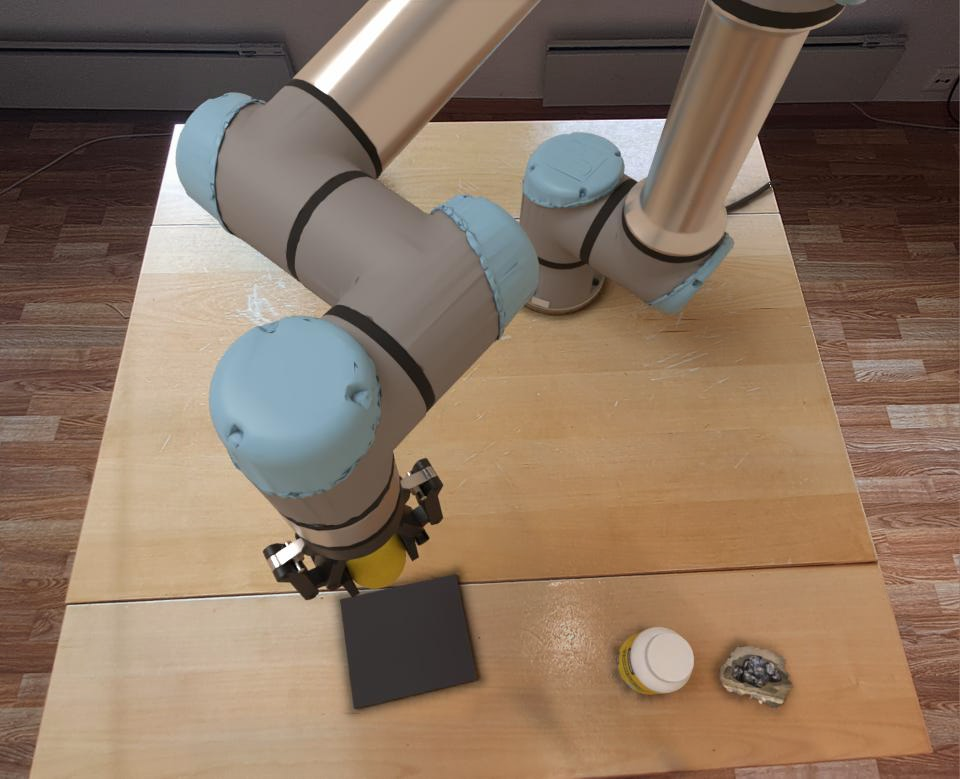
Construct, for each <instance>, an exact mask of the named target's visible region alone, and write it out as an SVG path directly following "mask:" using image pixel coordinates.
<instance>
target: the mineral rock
mask: <svg viewBox="0 0 960 779" xmlns="http://www.w3.org/2000/svg"><path fill="white" fill-rule="evenodd" d="M729 656H730V657H729V658H726V661H725V662H724V663H723V664H722V665H721V666H720V667H719V672H718V676H719V680H720V681H721V685H722V687H723V688H725V689H726V691H727V692H729V693H732V692H733V693H734V694H735V693H736V694H738V695H739V696H743V695H750V697H749V698H748V700H751V699H753V698H754V699H756V700H758V703H759V704H760V705H763V703H765V704H767V706H770V708H776V709H778V707H780V706H781V705H783V704H784V702H785V700H787V695H789V692H788V691H791V690H792V688H794V687H793V685H792V684H793V683H792V681H791V680H789V678H790V677H791V675H790V673H789V671H787V670H786V669H785V666H786V664H787V662H786V661H787V659H786V658H783V657H784V656H783V655H778V654H777V653H775V652H773V651H771V650H770V649H769V650H768V649H766V648H764V649H760V647H759V646H758V647H754V646H752V645H746V646H737V647H736V648H734V651H730V655H729Z"/></svg>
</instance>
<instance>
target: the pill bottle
mask: <svg viewBox="0 0 960 779" xmlns="http://www.w3.org/2000/svg"><path fill="white" fill-rule="evenodd" d="M694 666H695V656H694V650H693V649H692V647H691V645H690V643H689V642H688V641H687V640H686V639H685V638H684V637H682V636H681V635H680V634H679V633H678V632H677V631H675V630H673V629H671V628H669V627H664V626H652V627H649V628H646V629H644V630H642V631H640V632H638V633H635V634H633V635H630V636H629V637H628V638H626V639H625V640H624V641H623V642H622V643H621V644H620V647H618V650H617V654H616V669H617V673H618V675H619V678H620V679H621V681H622V682H623V683H624V685H625V686H627V688H629V689H630V690H632V691H633V692H635V693H638V694H641V695H646V696H647V695H649V696H650V695H659V694H661V695H662V694H670V693H675V692H677V691H678V690H680V689H681V688H683V687H684V686H685V685H686V684H687V683H688V682H689V679H690V677H691V675H692V672H693V669H694Z"/></svg>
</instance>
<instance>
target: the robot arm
mask: <svg viewBox="0 0 960 779" xmlns="http://www.w3.org/2000/svg"><path fill="white" fill-rule="evenodd" d="M541 1H542V0H367V2H366V3H365V4H364V5H363V6H362V7H360V9H359V10H358V11H357V12H356V13H355V14H354V15H353V16H352V17H351V18H350V19H349V20H348V21H347V22H346V23H345V24H344V25H343V26H342V27H341V28H340V29H339V30H338V31H337V32H336V33H335V34H334V35H333V37H331V38H330V39H329V40H328V41H327V42H326V44H324V46H322V47H321V49H319V51H317V53H316V54H315V55H314V56H313V57H311V59H310V60H308V62H307V63H306V64H304V66H303V67H302V68H301V69H300V70H299V71H298V72H297V73H296V74H295V75H294V76H293V77H292V78H291V79H290V80H289V81H288V82H287V83H286V84H285V85H284V86H283V87H282V88H281V89H280V90H278V92H277V93H276V94H274V96H273V97H272V98H271V99H270V100H269V101H268V102H266V101H265V100H262V99H259V98H256V97H252V96H250V95H248V94H246V93H241V92H227V93H223V95H221V96H219V97H216V98H208V99H207V100H205V101H204V102H202V104H200V105H199V106H198V107H197V108H196V109H194V111H193V112H192V113H191V114H190V115H189V117H188V118H187V119H186V122H185V124H184V125H183V127H182V129H181V132H180V133H179V136H178V139H177V143H176V149H175V157H174V158H175V168H176V174H177V177H178V179H179V182H180V184H181V186H182V187H183V189H184V191H185V194H186V195H187V196H188V197H189V198H190V199H191V200H192V201H194V202H195V203H196V204H197V205H198V206H199V207H201V209H203V210H204V211H205V212H206V213H207V214H208V215H210V216H211V217H213V218H214V219H215V220H216V221H217V222H218V223H219V225H220V227H221V228H222V229H223V230H224V231H225V232H226V233H228V234H229V235H232V236H234V237H236V238H238V239H239V240H241V241H243V242H244V243H245V244H247V245H248V246H250V247H251V248H253V249H254V250H255V251H257V252H258V253H259V254H261V255H262V256H264V257H265V258H266V259H268V260H269V261H270V262H272V263H273V264H274V265H276V266H277V267H279V268H280V269H281V270H283V271H284V272H285V273H286V274H288V275H289V276H291V277H292V278H293V279H295V280H296V281H297V282H298V283H300V284H301V285H302V286H303V287H304V288H306V289H307V290H308V291H310V292H311V293H312V294H314V295H315V296H316V297H317V298H319V299H321V300H322V301H323V302H325V303H326V304H327V305H328V306H330V307H331V308H329V309H328V310H327V311H326V312H325V313H323V315H322V316H321V317H315V316H309V315H308V316H306V315H290V316H283V317H281V318H280V319H279V320H274V321H272V322H268V323H265V324H263V325H259V326H254V327H253V328H250V329H249V330H247V331H246V332H244V333H242V335H240V336H239V337H238V338H237V339H236V340H234V342H232V344H230V346H229V347H228V348H227V349H226V350H225V352H224V353H223V355H222V356H221V357H220V359H219V360H218V363H217V365H216V367H215V369H214V371H213V374H212V376H211V380H210V384H209V390H208V410H209V414H210V419H211V422H212V425H213V428H214V430H215V432H216V434H217V437H218V438H219V440H220V441H221V443H222V444H223V446H224V448H225V449H226V452H227V454H228V456H229V458H230V460H231V462H232V464H233V465H234V467H235V469H237V470H238V471H240V472H241V473H242V474H243V475H244V476H245V478H246V479H247V480H248V481H249V482H250V483H251V484H252V485H253V486H254V487H255V488H256V489H257V490H258V492H260V494H261V495H262V496H263V497H264V498H265V499H266V500H267V501H268V502H269V503H270V504H271V506H272V507H273V508H274V509H275V511H276V512H277V513H278V514H279V515H280V516H281V518H282V519H283V520H284V521H285V523H287V525H288V526H289V527H290V528H291V529H292V530H293V531H294V538H295V540H294V541H292V540H287V541H285V542H284V543H279V542H275V543H271V544H269V545H267V546H266V547H265V548H263V550H262V554H263V557H264V558H265V560H266V562H267V565H268V566H269V568H270V571H271V573H272V574H273V577H274V579H275V581H276V583H287V584H290V585H291V586H292V587H293V588H294V589H295V590H296V591H297V593H298V594H299V595H300V596H301V597H302V598H303V599H304V600H305V601H310V600H314V599H315V598H316V597H317V596H318V595H319V594H320V591H319V589H321V588H323V587H325V588H326V590H328V591H330V592H335V591H336V590H338V589H341V587H343V589H344V590H345V591H346V592H347V593H348V594H349V595H350V597H354V596H357V595H360V594H361V592H360V591H359V589H358V587H357V585H356V582H355V581H354V580H353V579H352V578H351V577H350V576H349V574H348V573H347V571H346V568H345V565H346V562H347V561H349V560H353V559H358V558H362V557H365V556H367V555H370V554H372V553H373V552H375V551H377V550H378V549H380V548H381V547H382V546H384V545H385V544H386V543H387V542H388V541H389V540H390V538H391V537H392V536H393V535H394V533H397V534H398V535H399V536H400V537H401V539H402V541H403V543H404V545H405V550H406V554H407V555H408V557H409V559H410V560H411V562H415V561H416V560H417V559H418V558H420V554H419V552H418V547H419V546H422V545H424V544H426V543H427V542H429V540H430V539H431V538H430V535H429V534H428V533H427V531H426V529H425V527H426V525H428V524H430V526H435V525H438V524H440V523H441V522H442V520H443V519H444V515H443V510H442V507H441V503H440V498H439V495H440V493H441V492H442V489H443V487H444V483H443V482H442V480H441V479H440V477H439V474H438V473H437V471H436V470H435V469H434V467H433V465H432V464H431V462H430V460H429V459H428V458H427V457H424V458H421V459H418V460H417V461H416V462H415V463H414V464H413V466H412V469H411V470H409V471H407V472H406V473H405V476H404V477H402V475H400V472H399V469H398V466H397V462H396V459H395V453H394V450H396V448H397V447H398V446H400V444H401V443H402V442H403V441H404V440H405V438H407V437H408V435H409V434H410V433H411V432H412V431H413V430H414V429H415V428H416V427H417V426H418V425H420V422H422V420H423V419H424V418H425V417H426V416H427V413H428V412H429V411H430V410H431V409H432V408H433V407H434V406H435V405H436V404H437V403H438V402H439V401H440V400H441V398H443V397H444V395H446V393H447V392H448V391H449V390H450V389H452V387H453V385H455V384H456V383H457V382H458V381H459V380H460V379H461V377H462V376H464V374H466V373H467V371H468V370H469V369H470V368H472V366H473V365H475V363H476V362H477V361H478V360H479V359H480V358H481V356H483V355H484V354H485V353H486V351H487V350H488V349H489V348H490V347H491V346H492V345H493V344H494V343H496V342H497V341H500V339H501V338H502V337H503V336H504V333H505V329H506V328H507V327H508V326H509V325H510V324H511V322H512V321H513V320H514V318H516V317H517V315H518V314H519V312H521V310H522V308H523V307H526V308H527V309H529V310H532V311H534V312H536V313H540V314H545V315H555V316H556V315H557V316H558V315H567V314H572V313H575V312H578V311H579V310H582V309H583V308H585V307H587V306H589V305H590V304H591V303H592V302H593V301H594V300H596V298H597V296H598V295H599V293H600V292H601V291H602V287H603V285H604V282H605V278H608V279H609V280H610V281H612V282H613V283H615V284H617V285H618V286H619V287H621V288H623V290H625V291H627V292H629V293H630V294H632V295H633V296H635V297H636V298H637V299H639V300H640V301H642V302H643V303H644V304H645V305H647V306H650V307H653V308H654V309H657V310H659V311H660V312H662V313H663V314H666V315H675V314H678V313H680V312H681V311H682V310H683V309H684V308H685V307H686V306H687V305H688V304H689V302H690V301H691V300H692V299H693V298H694V296H695V295H696V294H697V293H698V291H699V290H700V289H701V287H702V286H703V285H704V284H705V283H706V282H707V281H708V279H709V278H710V277H711V276H712V274H713V273H714V272H715V271H716V269H718V267H719V266H720V265H721V263H722V262H723V261H724V259H725V258H726V257H727V256H728V254H729V253H730V252H731V251H732V249H733V248H734V246H735V240H734V238H732V237H731V235H730V233H729V232H727V231H726V230H727V226H728V219H729V218H728V212H731V211H734V210H736V209H737V208H740V207H741V206H742V205H745V204H746V203H749V202H751V201H752V200H754V199H756V198H758V197H759V196H761V195H762V194H763V193H765V192H766V191H768V190H769V189H771V188H772V187H774V186H778V187H779V186H782V183H783V182H782V180H780V179H777V178H775V179H772V180H770V181H768V182H766V183H765V184H764V185H762V186H761V187H759V188H758V189H756V190H755V191H753V192H752V193H750V194H748V195H746V196H744V197H742V198H741V199H739V200H737V201H735V202H733V203H730V204H728V205H725V201H726V200H727V197H728V195H729V193H730V191H731V189H732V187H733V185H734V183H735V181H736V179H737V177H738V176H739V173H740V172H741V169H742V168H743V166H744V164H745V161H746V159H747V158H748V155H749V153H750V151H751V149H752V147H753V145H754V143H755V141H756V139H757V138H758V135H759V133H760V132H761V129H762V128H763V125H764V124H765V122H766V119H767V118H768V116H769V113H770V111H771V109H772V107H773V105H774V103H775V101H776V99H777V98H778V95H779V93H780V92H781V90H782V87H783V85H784V84H785V81H786V80H787V78H788V75H789V73H790V72H791V70H792V67H793V65H794V63H795V62H796V60H797V58H798V56H799V53H800V52H801V50H802V47H803V45H804V43H805V42H806V41H807V40H806V39H807V38H808V35H809V34H810V31H812V30H815V29H818V28H821V27H823V26H826V25H828V24H829V23H830V22H832V21H834V20H835V19H836V18H837V17H839V16H840V14H841V13H843V11H844V9H845V8H846V6H849V5H850V6H858V5H862V4H864V3H865V2H866V1H867V0H705V1H704V4H703V6H702V10H701V14H700V16H699V19H698V22H697V25H696V27H695V31H694V33H693V37H692V40H691V43H690V46H689V48H688V49H689V50H688V52H687V55H686V58H685V61H684V63H683V68H682V70H681V74H680V75H679V76H680V77H679V80H678V83H677V85H676V89H675V91H674V95H673V98H672V100H671V104H670V107H669V110H668V112H667V116H666V119H665V122H664V124H663V128H662V131H661V134H660V137H659V140H658V143H657V145H656V149H655V152H654V155H653V158H652V161H651V165H650V167H649V170H648V174H647V176H645V177H644V178H642V179H641V180H639V181H637V180H636V179H633V178H632V177H630V176H629V175H628V174H626V173H625V171H626V170H625V168H626V165H625V161H624V158H623V157H622V153H621V151H620V149H619V148H618V146H617V145H616V144H615V143H613V142H612V141H610V140H609V139H607V138H605V137H603V136H601V135H598V134H594V133H591V132H585V131H584V132H582V131H573V132H571V133H561V134H558V135H554V136H553V137H550V138H549V139H546V140H545V141H543V142H542V143H540V144H539V145H538V146H537V147H536V148H535V149H534V150H533V152H532V153H531V154H530V156H529V158H528V161H527V164H526V168H525V172H524V175H523V179H522V183H521V188H522V189H521V190H522V194H521V202H520V211H519V212H520V213H519V220H518V221H517V220H516V218H515V217H514V216H513V215H512V214H511V213H510V212H508V211H507V210H506V209H504V208H503V207H502V206H501V205H499V204H497V203H496V202H494V201H493V200H490V199H489V198H487V197H484V196H478V197H475V196H473V195H471V194H468V193H461V194H457V195H454V196H452V197H450V198H449V199H448V200H446V201H445V202H443V203H442V204H438V206H434V207H433V209H431V211H430V213H428V212H425V211H424V210H422V209H421V208H420V207H418V206H417V205H415V204H413V203H412V202H411V201H409V200H408V199H406V198H404V197H403V196H401V195H400V194H399V193H397V192H395V191H394V190H392V189H391V188H389V187H388V186H386V185H385V184H383V183H382V182H380V181H379V180H378V179H379V178H380V177H381V175H382V174H383V173H384V171H385V170H386V169H387V168H389V166H390V165H392V163H393V162H394V161H395V159H396V158H398V156H399V155H400V154H401V153H402V152H403V151H404V150H405V149H406V147H407V146H408V145H410V143H411V142H412V141H413V140H414V139H415V138H416V137H417V136H418V135H419V133H420V132H421V131H422V130H423V129H424V128H426V126H427V125H428V124H429V122H430V121H431V120H432V119H433V118H434V117H435V116H436V115H437V114H438V113H439V112H440V111H441V110H442V109H443V107H444V106H446V104H447V103H448V102H449V101H450V100H451V99H452V97H454V96H455V95H456V94H457V92H458V91H459V90H460V89H461V88H462V87H463V86H464V85H465V83H467V81H468V80H470V78H471V77H472V76H473V75H474V74H475V73H476V72H477V71H478V69H479V68H480V67H481V66H482V65H484V63H485V62H486V61H487V60H488V59H489V57H491V55H492V54H493V53H494V52H495V51H496V50H497V49H498V48H499V47H500V46H501V44H502V43H503V42H504V41H506V40H507V38H508V37H509V36H510V35H511V34H512V32H514V30H516V28H517V27H518V26H519V25H520V24H521V23H522V21H524V20H525V18H526V17H527V16H528V15H529V14H531V12H532V11H533V9H535V7H536V6H538V5H539V3H540V2H541ZM769 183H770V184H769ZM770 185H771V187H770ZM411 495H412V496H414V498H415V499H416V503H417V504H418V506H416V507H415V508H413V507H412V506H410V505H408V504H407V503H408V502H409V501H410V498H411ZM305 556H307V557H310V560H311V561H312V563H313V565H314V567H313V568H311V569H308V567H307V566H306V564H305V563H304V561H305Z"/></svg>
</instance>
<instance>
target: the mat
mask: <svg viewBox="0 0 960 779" xmlns="http://www.w3.org/2000/svg"><path fill="white" fill-rule="evenodd" d="M339 603H340V612H341V618H342V627H343V628H342V629H343V634H344V643H345V650H346V658H347V667H348V673H349V681H350V688H351V696H352V704H353V709H354V710H357V709H362V708H365V707H369V706H374V705H377V704H381V703H386V702H391V701H394V700H398V699H403V698H408V697H411V696H415V695H419V694H423V693H428V692H432V691H437V690H440V689H445V688H449V687H453V686H458V685H462V684H466V683H471V682H475V681H478V675H477V670H476V665H475V660H474V655H473V650H472V644H471V641H470V635H469V630H468V626H467V621H466V620H467V619H466V616H465V610H464V606H463V601H462V596H461V591H460V585H459V580H458V575H457V573H453V574H449V575H443V576H440V577H436V578H430V579H426V580H421V581H418V582H413V583H408V584H404V585H399V586H395V587H389V588H384V589H381V590H375V591H372V592H367V593H362V594H358V595H356V596H354V597H352V596H348V597H344V598H340V599H339Z"/></svg>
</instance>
